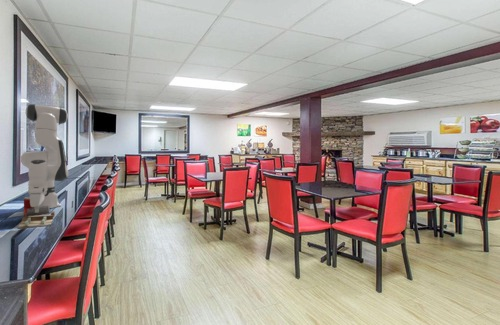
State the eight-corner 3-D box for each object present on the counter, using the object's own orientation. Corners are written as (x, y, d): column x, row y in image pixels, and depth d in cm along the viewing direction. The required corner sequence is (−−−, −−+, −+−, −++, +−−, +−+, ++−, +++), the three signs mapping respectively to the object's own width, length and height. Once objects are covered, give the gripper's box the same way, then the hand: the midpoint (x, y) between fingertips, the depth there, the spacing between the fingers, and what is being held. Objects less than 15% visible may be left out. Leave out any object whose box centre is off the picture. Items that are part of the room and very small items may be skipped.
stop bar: (27, 216, 158) (26, 209, 157) (28, 215, 160) (27, 208, 160) (49, 213, 163) (48, 206, 162) (49, 212, 165) (48, 205, 165)
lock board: (26, 218, 162) (26, 212, 162) (55, 216, 170) (55, 210, 169) (17, 229, 142) (17, 222, 142) (50, 226, 149) (50, 219, 149)
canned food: (31, 216, 166) (31, 198, 166) (20, 215, 168) (20, 197, 167) (43, 213, 174) (43, 196, 173) (32, 212, 175) (32, 195, 175)
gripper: (34, 185, 168) (34, 207, 169) (27, 191, 150) (27, 216, 151) (47, 185, 171) (47, 207, 172) (41, 190, 153) (41, 215, 154)
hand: (37, 211), depth 161 cm, fingers closed on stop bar, 3 cm apart
